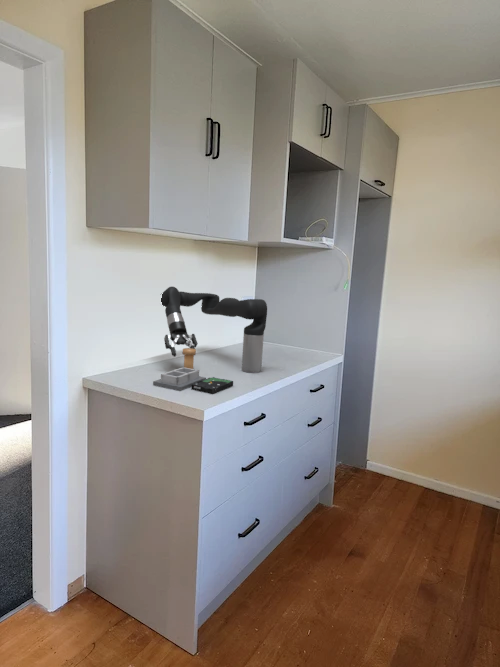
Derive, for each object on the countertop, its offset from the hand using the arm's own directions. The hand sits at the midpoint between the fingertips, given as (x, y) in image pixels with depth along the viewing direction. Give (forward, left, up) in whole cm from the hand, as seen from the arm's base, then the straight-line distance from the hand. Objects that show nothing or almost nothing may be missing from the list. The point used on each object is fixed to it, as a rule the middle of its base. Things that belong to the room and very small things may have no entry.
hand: (184, 355), depth 194 cm
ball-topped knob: (+1, +3, -8) cm, 9 cm away
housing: (+15, +9, -8) cm, 19 cm away
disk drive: (+13, +23, -9) cm, 27 cm away
